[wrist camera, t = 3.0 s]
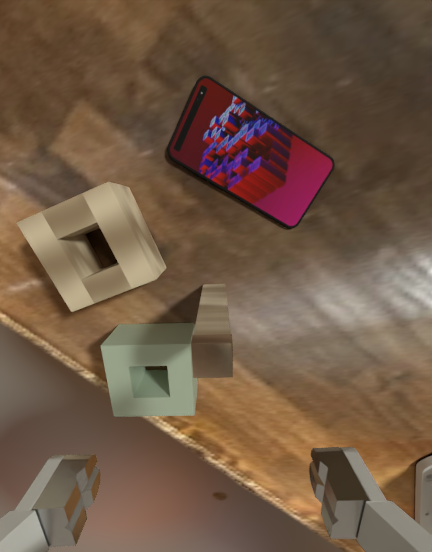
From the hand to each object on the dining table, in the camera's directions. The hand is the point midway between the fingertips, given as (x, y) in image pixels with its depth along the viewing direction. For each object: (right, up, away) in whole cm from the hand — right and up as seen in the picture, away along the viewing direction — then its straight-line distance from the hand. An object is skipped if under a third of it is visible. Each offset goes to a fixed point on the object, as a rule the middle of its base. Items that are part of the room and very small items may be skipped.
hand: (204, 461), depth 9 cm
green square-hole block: (-6, -3, +20) cm, 21 cm away
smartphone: (+4, +19, +14) cm, 24 cm away
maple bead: (-11, +10, +16) cm, 22 cm away
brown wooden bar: (0, +5, +18) cm, 18 cm away
